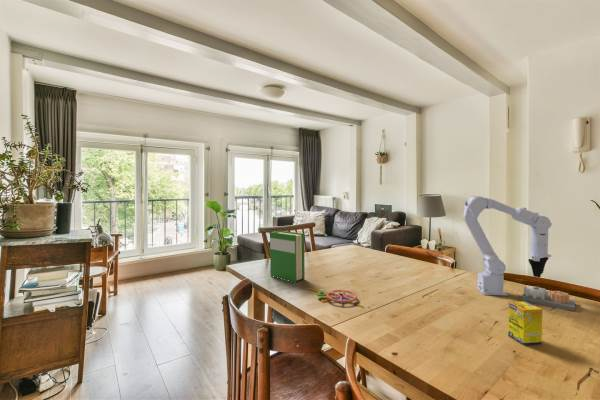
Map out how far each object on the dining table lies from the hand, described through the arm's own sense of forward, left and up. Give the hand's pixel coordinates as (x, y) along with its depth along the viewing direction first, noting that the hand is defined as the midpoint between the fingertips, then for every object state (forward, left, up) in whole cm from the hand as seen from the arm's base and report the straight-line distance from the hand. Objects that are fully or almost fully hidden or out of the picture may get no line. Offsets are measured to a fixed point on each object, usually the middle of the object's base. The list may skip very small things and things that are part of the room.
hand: (538, 274), depth 125 cm
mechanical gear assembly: (-87, -13, -10) cm, 88 cm away
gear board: (0, -6, -9) cm, 11 cm away
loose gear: (+3, -8, -8) cm, 12 cm away
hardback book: (-112, +12, -10) cm, 113 cm away
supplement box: (-27, -40, -10) cm, 50 cm away
